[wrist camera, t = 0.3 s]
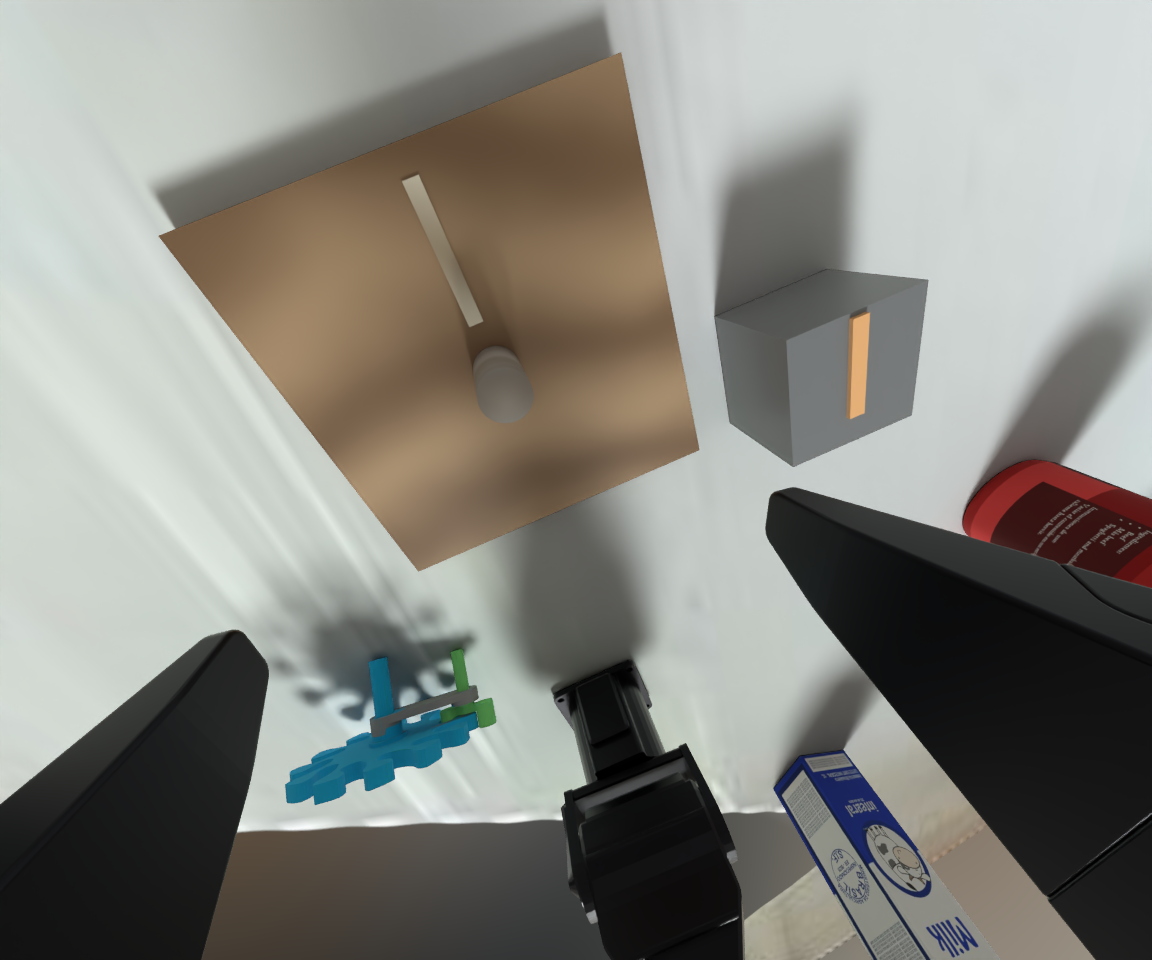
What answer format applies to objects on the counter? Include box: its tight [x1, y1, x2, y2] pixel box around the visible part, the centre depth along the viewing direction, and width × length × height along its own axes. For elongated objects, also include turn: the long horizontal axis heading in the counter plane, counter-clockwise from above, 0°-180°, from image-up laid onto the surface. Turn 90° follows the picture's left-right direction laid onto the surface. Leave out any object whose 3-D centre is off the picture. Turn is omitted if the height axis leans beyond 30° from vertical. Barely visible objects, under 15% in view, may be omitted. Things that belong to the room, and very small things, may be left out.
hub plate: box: [159, 53, 699, 572], centre depth 17 cm, size 16×16×5 cm
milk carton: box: [774, 750, 1001, 960], centre depth 43 cm, size 7×7×20 cm
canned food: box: [963, 460, 1152, 588], centre depth 29 cm, size 8×8×11 cm
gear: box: [285, 649, 496, 805], centre depth 25 cm, size 11×6×10 cm
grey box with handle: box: [715, 269, 928, 467], centre depth 20 cm, size 6×6×6 cm
